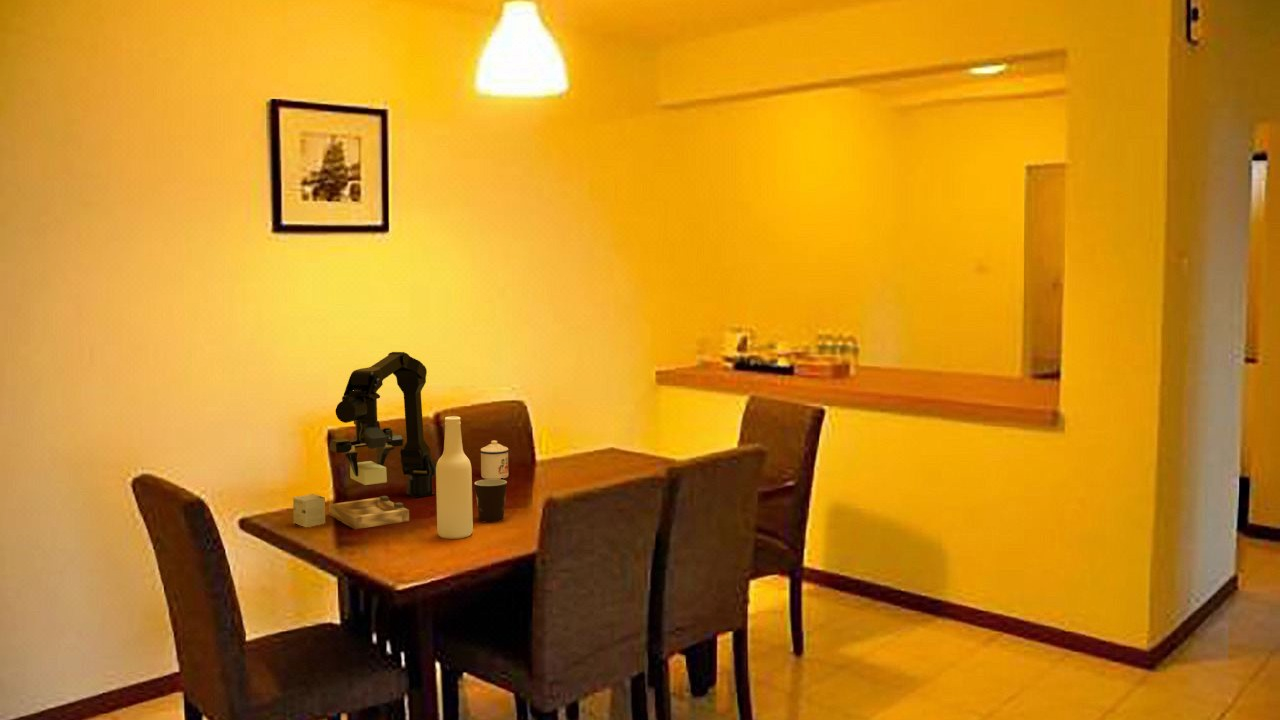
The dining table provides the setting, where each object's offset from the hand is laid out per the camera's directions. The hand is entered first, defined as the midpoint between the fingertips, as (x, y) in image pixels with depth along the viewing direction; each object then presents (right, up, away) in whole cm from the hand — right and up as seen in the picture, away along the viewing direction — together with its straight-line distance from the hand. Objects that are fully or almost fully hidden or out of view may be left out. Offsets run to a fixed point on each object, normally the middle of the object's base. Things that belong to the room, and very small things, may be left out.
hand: (368, 474), depth 286 cm
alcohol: (+26, -14, -17) cm, 34 cm away
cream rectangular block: (0, -2, 0) cm, 2 cm away
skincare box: (-14, -13, -5) cm, 20 cm away
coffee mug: (+33, -12, +1) cm, 36 cm away
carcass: (0, -12, +1) cm, 12 cm away
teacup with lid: (+27, -7, +56) cm, 62 cm away
